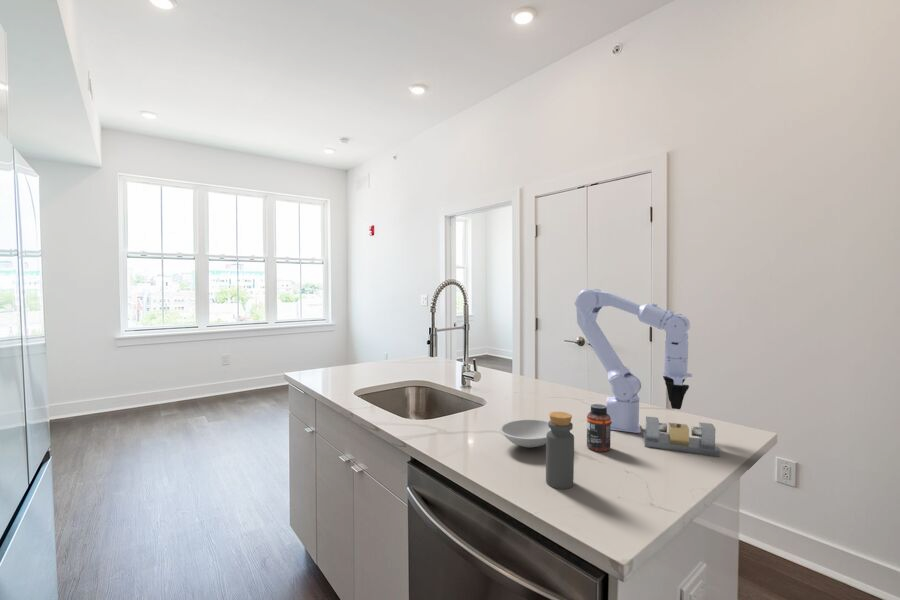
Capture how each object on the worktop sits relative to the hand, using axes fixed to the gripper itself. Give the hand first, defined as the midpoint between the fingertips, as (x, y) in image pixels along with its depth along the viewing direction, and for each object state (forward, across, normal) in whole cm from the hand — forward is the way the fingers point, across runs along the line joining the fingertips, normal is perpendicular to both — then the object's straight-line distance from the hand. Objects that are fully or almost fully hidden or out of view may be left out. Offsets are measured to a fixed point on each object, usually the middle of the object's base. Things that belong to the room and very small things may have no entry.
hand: (674, 405), depth 119 cm
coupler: (+8, -7, 0) cm, 10 cm away
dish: (+10, -24, +36) cm, 44 cm away
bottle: (+10, -41, +26) cm, 49 cm away
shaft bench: (+9, -7, -1) cm, 11 cm away
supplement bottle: (+10, -17, +19) cm, 27 cm away
